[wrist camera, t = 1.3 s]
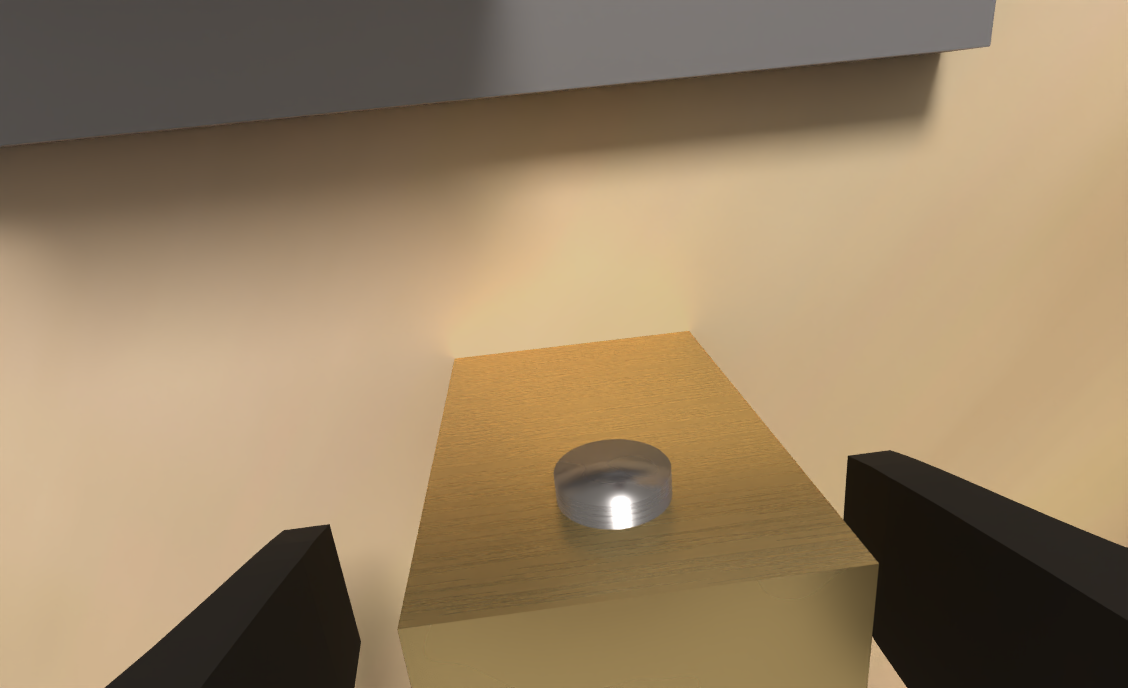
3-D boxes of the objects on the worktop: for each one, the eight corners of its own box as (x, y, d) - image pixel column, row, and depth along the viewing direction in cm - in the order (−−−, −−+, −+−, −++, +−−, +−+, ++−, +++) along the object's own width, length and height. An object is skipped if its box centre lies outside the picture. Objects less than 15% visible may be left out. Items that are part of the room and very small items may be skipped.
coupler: (688, 313, 11) (881, 533, 5) (694, 538, 12) (848, 890, 7) (452, 341, 11) (390, 599, 5) (489, 565, 12) (473, 949, 7)
